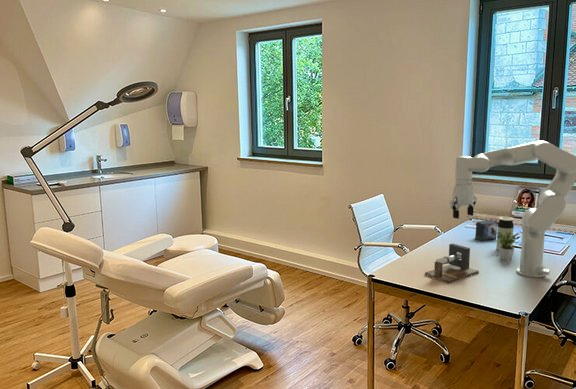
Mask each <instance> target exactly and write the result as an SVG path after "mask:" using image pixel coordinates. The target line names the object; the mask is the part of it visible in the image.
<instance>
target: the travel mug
mask: <svg viewBox="0 0 576 389" xmlns="http://www.w3.org/2000/svg"><path fill="white" fill-rule="evenodd" d="M514 219H515V218H513V217H510V216H499V217H498V222H497V235H496V240H501V238H500V236H501V235H500V233H499V232H498V230H499V231H500V232H501V233H502V235H503V237H504V235H505V238H506V230H507V233H508V232H509V231H510V229H511V236H512V237H513V235H514V226H515V224H514V222H513V221H514ZM498 234H499V235H500V236H499V235H498ZM512 237H510V239H511V238H512ZM513 245H514V243H512V244H511V245H510V246H512V247H513ZM500 246H502V244H501V243H500V242H498V241H496V251H497V250H498V251H499V252H500Z"/></svg>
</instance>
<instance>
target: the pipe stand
mask: <svg viewBox="0 0 576 389" xmlns="http://www.w3.org/2000/svg"><path fill="white" fill-rule="evenodd" d="M461 255H462V253H458V252H457V254H454V255H450V256H449V255H447V256H443V257H440V258H437V259H436V260H435V261H434V267H433V268H434V269H433V270H429V271H426V272H425V273H424V276H427V275H428V276H427V277H429V276H431V277H430V278H432V277H434V278H433V279H435V278H436V279H435V280H438V279H439V280H438V281H441V282H444V283H446V282H447V283H446V284H451V283H454V282H457V281H460V280H463V279H466V278H469V277H472V276H475V275H478V274H479V271H480V270H477V269H474V268H471V267H469V268H468V269H463V268H460V267H457V266H454V265H451V264H449V262H453V261H456V260H461ZM447 264H448V265H447ZM443 265H445V266H443ZM477 273H478V274H477ZM474 274H475V275H474ZM471 275H472V276H471Z"/></svg>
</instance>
